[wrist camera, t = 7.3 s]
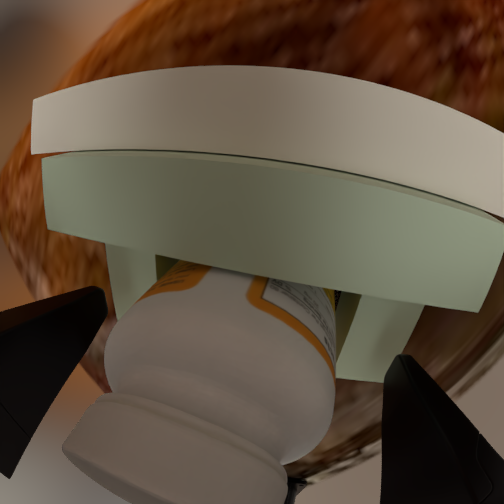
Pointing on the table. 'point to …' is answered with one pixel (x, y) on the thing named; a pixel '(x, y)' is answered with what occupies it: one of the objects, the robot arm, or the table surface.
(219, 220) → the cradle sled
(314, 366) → the supplement bottle
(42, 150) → the backstop wall
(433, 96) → the table surface
